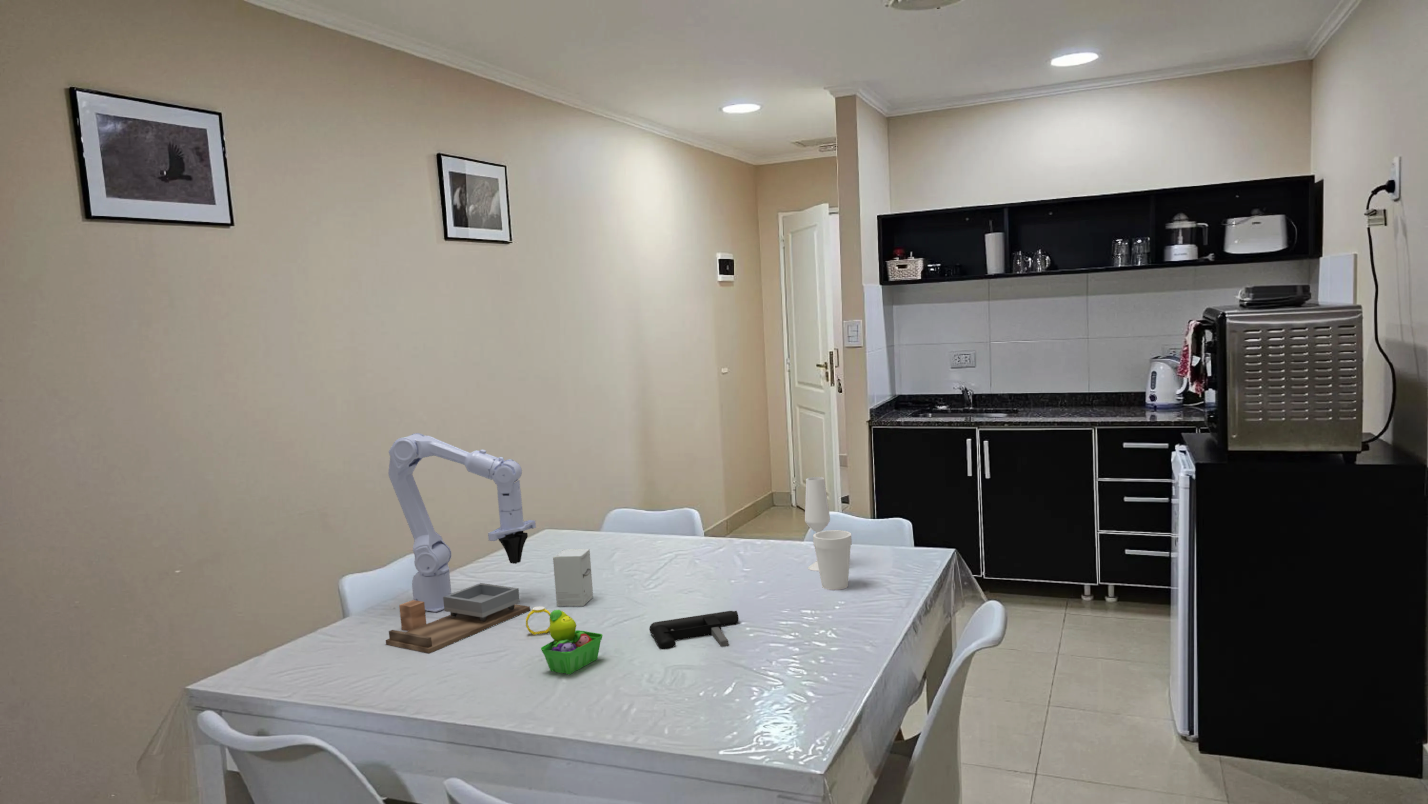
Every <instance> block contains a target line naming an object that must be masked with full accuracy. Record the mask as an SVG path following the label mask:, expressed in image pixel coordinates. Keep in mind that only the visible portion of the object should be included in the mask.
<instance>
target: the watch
mask: <svg viewBox="0 0 1428 804" xmlns="http://www.w3.org/2000/svg"><path fill="white" fill-rule="evenodd" d="M543 612H544V613H546V614H547V615H548V616H549V617H550V614H551V612H550V611H549V610H547V609H546V607H545V606H534V607H533V608H532V609H531V610H530V611H529V613H527V615H526V618H525V628H526V629H527V631H528V632H529V633H530V634H532V636H533V635H534V636H536V634H537V635H543V633H545V634H548V633H550V631H549V627H550V625H549V627H547V629H545V630H539V631H534V630H532V628H530V627H529V622H528V621H529V619H530V617H531V616H532V615H533V614H535V613H536V614H539V613H543Z"/></svg>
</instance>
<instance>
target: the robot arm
mask: <svg viewBox="0 0 1428 804" xmlns="http://www.w3.org/2000/svg"><path fill="white" fill-rule="evenodd" d="M388 455H389V456H390V457H389V465H388V477H389V480H390V483H391V486H392V487H393V490H394V493H395V496H396V498H397V500H398V503H399V505H400V507H401V510H402V513H403V515H404V518H405V520H406V523H407V525H408V527H409V528H408V529H409V531H410V533H411V535H412V538H413V545H412V552H413V554H414V567H415V569H416V570H417V572H416V573H415V574H414V575H413V577H412V581H411V588H412V598H413V599H412V600H416V601H422V602H424V605H425V612H431V613H432V612H434V613H438V612H440V611H444V601H443V597H444V596H447V595H449V594H452V584H451V576H450V566H449V562H450V561H451V559H452V550H451V548H450V546H449V545H448V544H447V543H446V542H445V541H444V540H443V537H442V536H441V534H440V533H438V532H436V530H435V528H434V525H433V523H432V520H431V518H430V516H429V513H428V510H427V507H426V505H425V502H424V500H423V497H422V496H421V493H420V491H419V488H418V485H417V483H416V480H415V477H414V475H413V474H414V471H415V469H416V468H417V466H418V465H419V462H420V461H422V459H423V458H428V457H432V456H435V457H438V458H440V459H444V460H447V461H451V462H455V463H456V464H457V463H458V464H459V465H460V464H461V465H464V467H465V468H466V470H467V472H468V473H471V474H474V475H477V476H480V477H482V478H485V479H488V480H490V481H492V480H493V483H495V485H496V489H497V504H498V515H499V525H500V527H498V528H496V529H494V530H492V531H490V532H487V537H488V538H487V539H488V541H489V542H496V541H499V543H500V544H501V546H502V547H503V549H504V550H505V553H506V555H507V558H508V560H509V563H510V564H515V565H516V564H519V563H521V562H522V554H523V550H524V547H525V543H526V541H527V539H528V538H529V536H528V532H525V531H527V530H530V529H534V530H535V529H536V528H537V526H536V520H534V519H533V520H532V519H528V520H525V521H524V513H523V502H522V491H521V490H522V489H521V483H520V482H521V480H519V479H520V478H521V476H522V473H523V472H522V471H523V470H522V467H521V465H520V464H519V462H517V461H515V460H514V459H506V460H505V459H504V457H502V456H499V457H498V456H494V455H492V454H490V453H487V450H486V449H479V450H477V449H476V450H473V451H471V452H469V451H467V450H464V449H462V448H460V447H456V446H455V445H453V444H450V443H448V442H446V441H445V442H444V441H443V440H440V439H438V438H435V437H433V436H431V435H425V434H423V433H421V432H420V433H419V432H415V433H414V432H413V433H412V434H410V435H407V436H405V437H399V438H397V439H396V440H395V441H394V442H393V443H392V445H391V447H390V449H389V450H388Z"/></svg>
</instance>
